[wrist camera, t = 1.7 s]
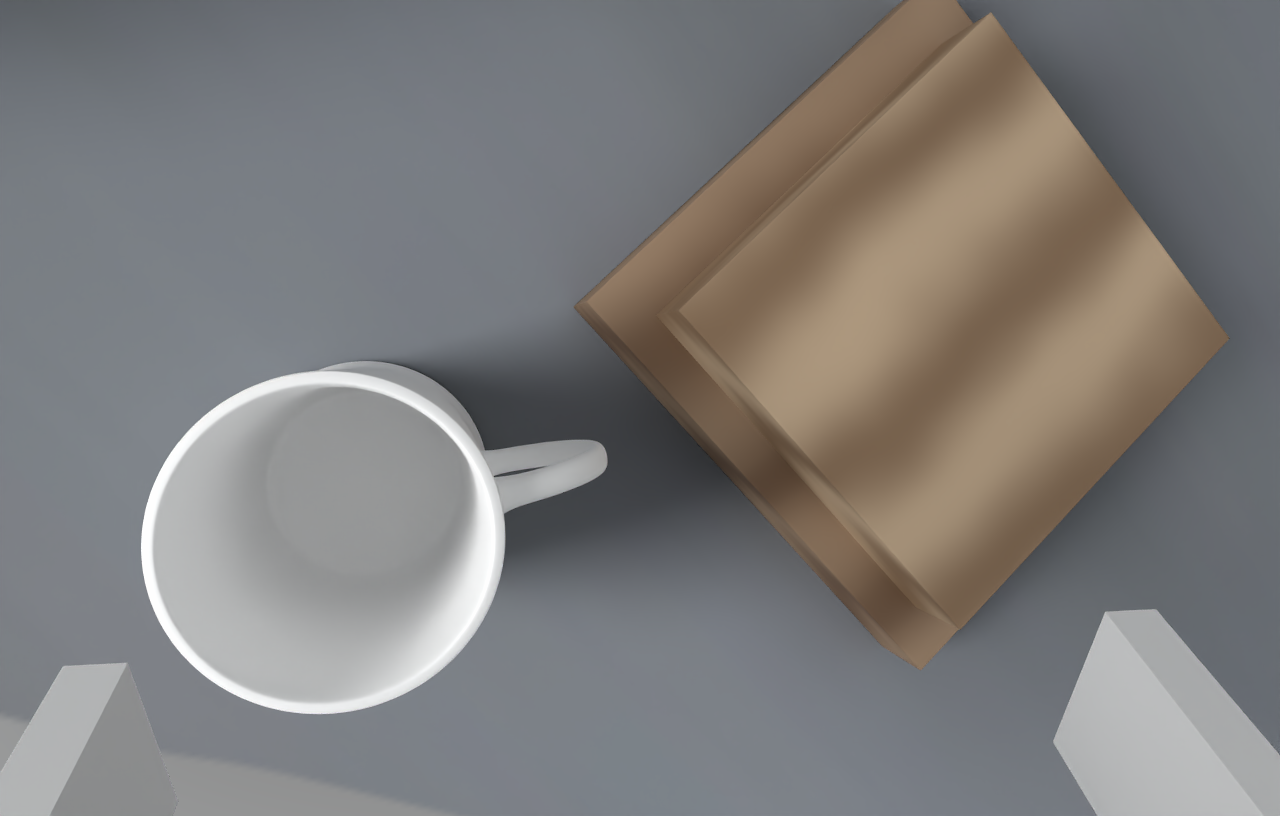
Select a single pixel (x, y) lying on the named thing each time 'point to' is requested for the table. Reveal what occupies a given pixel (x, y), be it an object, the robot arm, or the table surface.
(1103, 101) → the table surface
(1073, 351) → the pedestal
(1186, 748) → the robot arm
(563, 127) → the table surface
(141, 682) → the table surface
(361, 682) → the mug
